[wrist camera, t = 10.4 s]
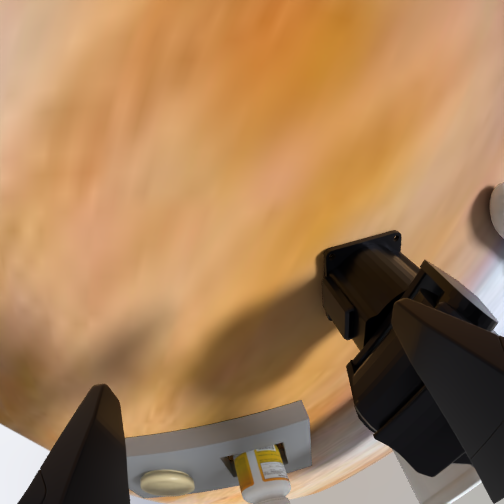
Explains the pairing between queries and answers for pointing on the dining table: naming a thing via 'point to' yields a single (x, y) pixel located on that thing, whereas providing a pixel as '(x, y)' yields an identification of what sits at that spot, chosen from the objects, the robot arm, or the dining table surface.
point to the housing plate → (214, 452)
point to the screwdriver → (497, 208)
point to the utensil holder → (441, 482)
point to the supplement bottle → (262, 476)
